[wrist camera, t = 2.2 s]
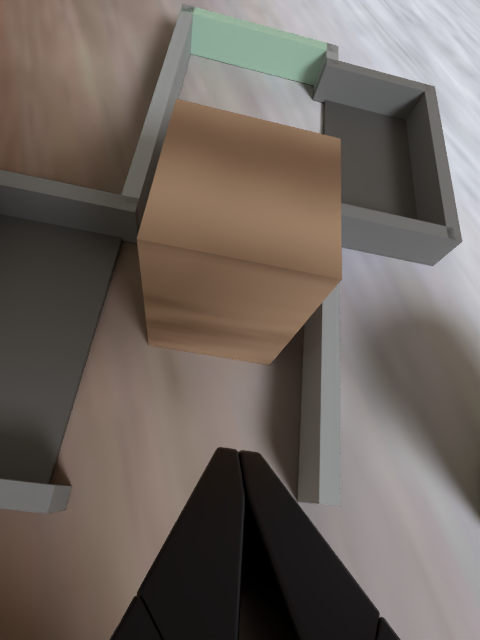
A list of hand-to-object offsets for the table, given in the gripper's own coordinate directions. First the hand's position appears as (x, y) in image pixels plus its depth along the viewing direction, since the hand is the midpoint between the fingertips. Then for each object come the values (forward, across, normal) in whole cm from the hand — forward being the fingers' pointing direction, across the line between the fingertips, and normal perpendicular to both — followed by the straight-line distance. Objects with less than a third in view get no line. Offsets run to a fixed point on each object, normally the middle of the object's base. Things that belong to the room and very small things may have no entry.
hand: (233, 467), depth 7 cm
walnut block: (+19, 0, -1) cm, 19 cm away
